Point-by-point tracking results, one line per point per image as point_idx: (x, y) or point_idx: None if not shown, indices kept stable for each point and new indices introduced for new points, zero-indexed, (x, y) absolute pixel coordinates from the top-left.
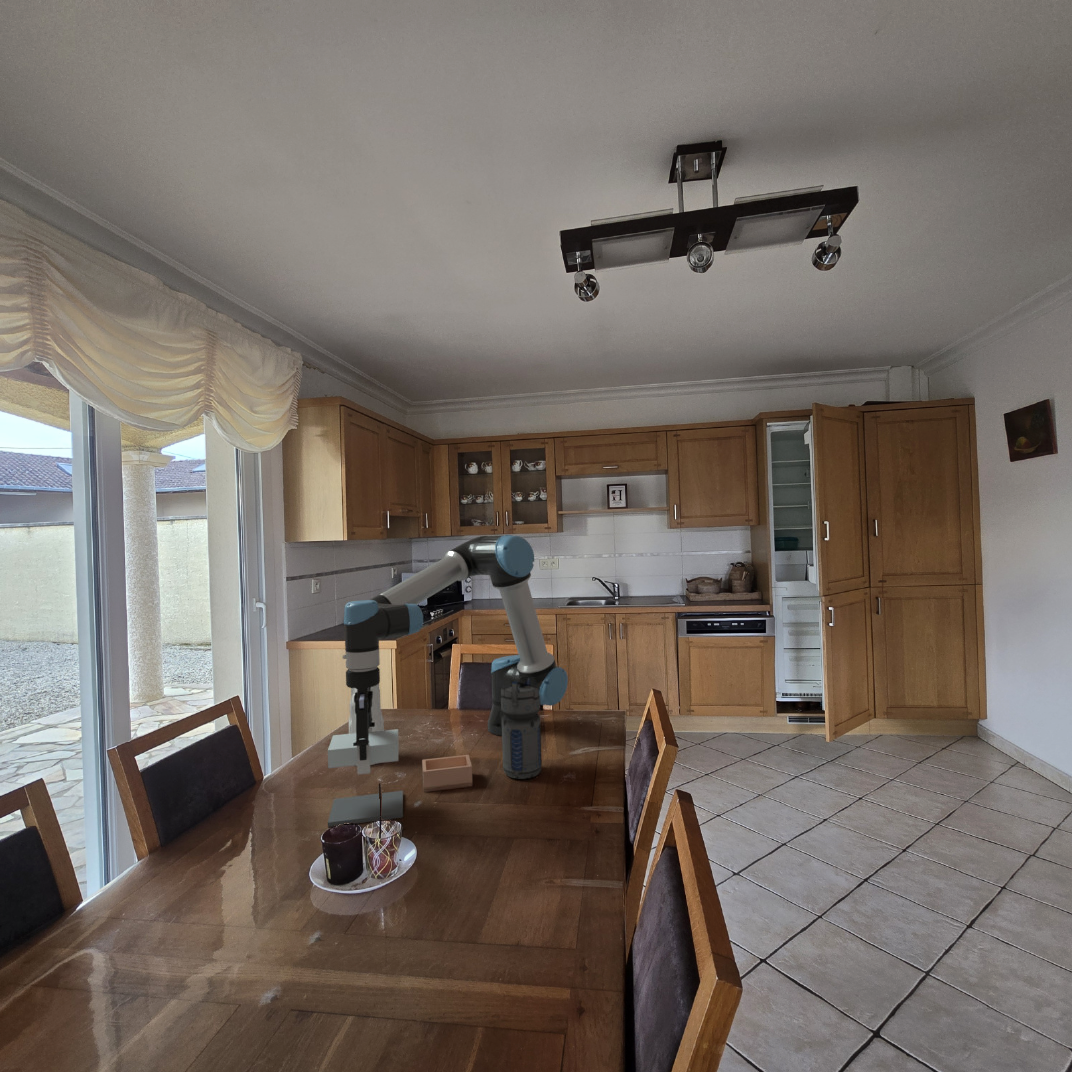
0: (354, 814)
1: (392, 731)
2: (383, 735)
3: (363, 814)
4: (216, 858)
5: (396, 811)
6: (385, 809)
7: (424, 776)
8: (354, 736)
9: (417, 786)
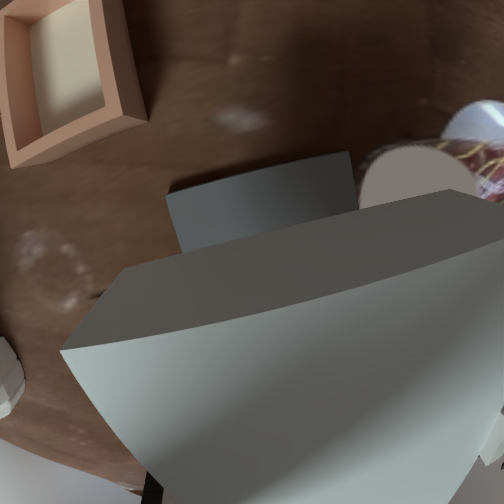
0: None
1: (149, 399)
2: (295, 442)
3: None
4: None
5: (336, 175)
6: (319, 217)
7: (128, 112)
8: None
9: (102, 160)
